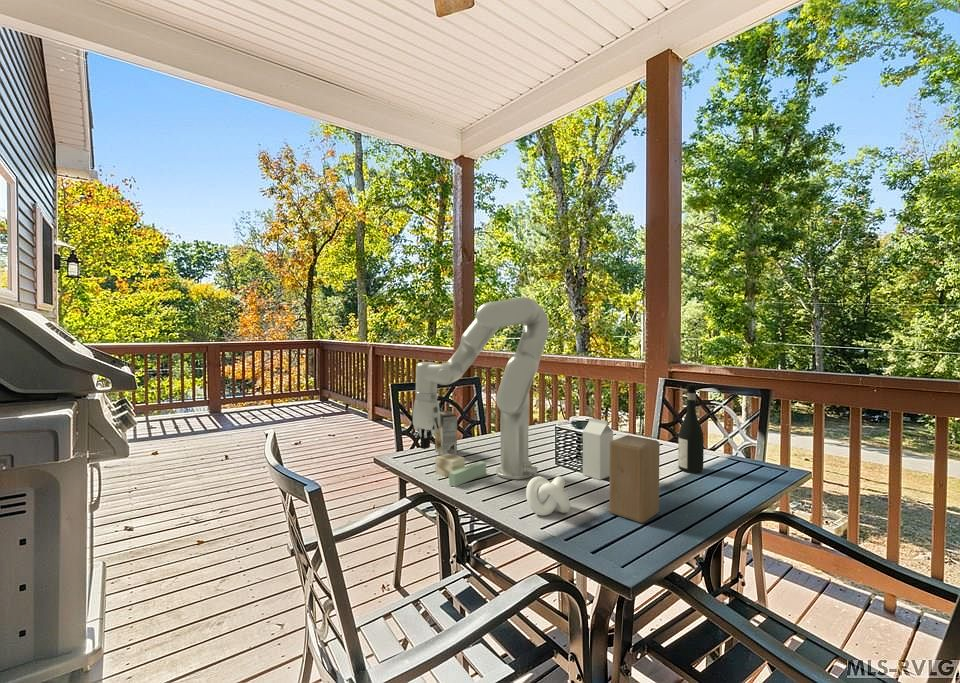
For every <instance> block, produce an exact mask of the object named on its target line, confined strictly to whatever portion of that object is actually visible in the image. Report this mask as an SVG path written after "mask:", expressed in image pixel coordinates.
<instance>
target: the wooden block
mask: <svg viewBox="0 0 960 683" xmlns="http://www.w3.org/2000/svg"><path fill="white" fill-rule="evenodd" d="M608 494H609V506H608V507H609V508H608V510H609V513H610V514H613V515H616V516H618V517H622V518H624V519H627V520H628V519H629V520H630V521H631V520H632V521H634V522H636V523H641V524H643V523H645V522H647V521H648V520H650V519H651V518H653V517H654V516H656V515H658V514H659V511H660V442H659V441H658V440H656V439H651V438H645V437H639V436H635V435H630V434H627V435H624V436H621V437H618V438H614V439H613V440H612V441H611V442H610V476H609V493H608Z"/></svg>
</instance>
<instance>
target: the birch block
mask: <svg viewBox="0 0 960 683" xmlns="http://www.w3.org/2000/svg"><path fill="white" fill-rule="evenodd" d="M465 462H466V460H465V457H464V456H460V455H452V454H448V453H447V454H444V455H439V456H438V455H437V456H436V457H435V475H437V474H438V475H437V476H440V475H442V476H441V477H443V476H445V477H444V478H447V477H448V478H447V479H449V473H450V472H453V471H455V470H458V469H461V468H463V467H466V465H465V464H466V463H465Z"/></svg>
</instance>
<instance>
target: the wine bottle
mask: <svg viewBox="0 0 960 683" xmlns="http://www.w3.org/2000/svg"><path fill="white" fill-rule="evenodd" d="M686 391H687V394H686V395H687V396H686V399H687V401H686V402H687V403H686V404H687V405H686V406H687V407H686V414H685V417H684V419H683V421H682V424H681V425H680V429H679V431H678V441H677V442H678V444H677V445H678V448H677V449H678V450H677V451H678V455H677V456H678V458H677V464H678V465H677V466H678V469H679V470H680V471H683V472H685V473H689V474H690V473H691V474H700V473H702V472H703V470H704V451H705V450H704V448H705V446H704V445H705V444H704V443H705V442H704V441H705V439H704V433H703V432H704V431H703V429H702V427H701V423H700V422H699V419H698V415H697V412H696V411H697V410H696V404H697V403H696V402H697V401H696V399H697V398H696V395H697V384H694V383H688V384H686Z"/></svg>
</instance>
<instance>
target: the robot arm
mask: <svg viewBox="0 0 960 683" xmlns="http://www.w3.org/2000/svg"><path fill="white" fill-rule="evenodd" d="M517 325H523V330H522V333H521V335H520V338H519V341H518V344H517V348H516V351H515V353H514V355H512V356H511V357H510V358H509V359H508V362H507V363H506V365H505V368H504V371H503V374H502V376H501V377H502V378H501V379H500V384H499V385H498V386H499V387H498V389H497V391H496V392H497V393H496V395H495V402H496V405H497V408H498V409H499V410H500V466H498V467H497V468H496V470H495V472H496V473H495V474H496V475H497V476H498V477H500V478H502V479H508V480H523V479H524V480H525V479H528V478H530V477H532V476H533V475H537V473H538V466H534V465H533V464H532V460H529V459H530V458H529V457H530V456H529V455H530V454H529V428H530V427H529V420H530V419H529V418H530V417H529V416H530V415H529V414H530V413H529V412H530V390H531V387H532V384H533V381H534V378H535V376H536V374H538V373H537V372H538V369H539V366H540V361H541V359H542V356H543V352H544V348H545V346H546V342H547V339H548V335H549V330H550V327H549V326H550V324H549V318H548V316H547V313H546V311H545V310H544V308H542V306H541V305H540V304H539V303H538V302H537V301H535V300H534V299H532V298H530V297H525V296H521V297H514V298H509V299H502V300H496V301H488V302H484V303H483V304H481V305H479V307H478V308H477V311H476V314H475V319H474V320H473V321H472V322H471V323H470V324H469V326H468V327H467V328H466V330H465V331H464V332H463V333H462V334H461V338H460V344H459V345H458V347H457V349H456V351H455V352H454V353H453V354H452V355H451V357H450V358H449V360H448V361H445V362H443V363H436V362H433V361H420V362H418V363H416V366H415V399H414V402H413V407H412V408H413V409H412V425H413V429H414V430H415V431H417V432H418V435H419V437H420V444H419V445H420V449H423V450H425V449H430V447H431V438H432V435H435V434H436V433H437V429H439V428H440V411H441V410H440V402H439V401H438V398H439V396H438V385H441V386H443V385H444V386H447V385H450V384H453V383H455V382H457V381H459V380H460V379H461V378H462V377H463V375H464V374H465V373H466V372H467V370H469V368H470V367H471V365H472V364H473V363H474V361H475V360H476V359H477V357H478V356H479V355H480V353H481V352H482V350H484V348H485V347H486V345H487V344H488V343H489V341H490V340H491V339H492V338H493V336H494V335H495V334H496V333H497V331H498V330H499V329H500V328H504V327H510V326H517Z"/></svg>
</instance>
